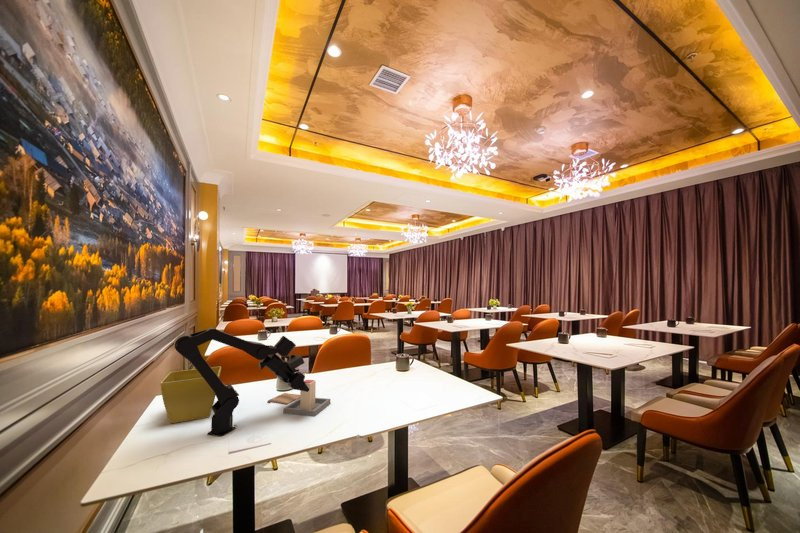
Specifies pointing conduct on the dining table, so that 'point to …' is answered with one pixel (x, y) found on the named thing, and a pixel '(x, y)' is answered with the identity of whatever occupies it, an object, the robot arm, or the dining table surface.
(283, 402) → the pad
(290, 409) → the bin
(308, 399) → the carton
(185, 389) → the flower pot
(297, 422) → the dining table surface
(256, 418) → the dining table surface
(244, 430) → the dining table surface
